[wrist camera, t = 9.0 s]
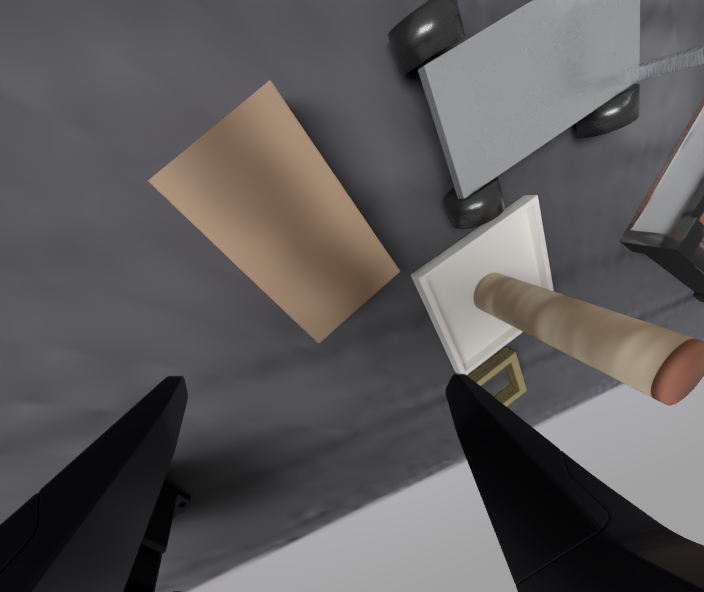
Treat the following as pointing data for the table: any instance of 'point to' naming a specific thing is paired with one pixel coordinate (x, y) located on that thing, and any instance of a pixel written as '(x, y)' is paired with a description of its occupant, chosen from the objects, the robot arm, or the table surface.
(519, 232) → the tray
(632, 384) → the pin
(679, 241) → the book
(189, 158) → the bar
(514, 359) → the pin socket
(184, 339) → the table surface
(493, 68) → the trolley
